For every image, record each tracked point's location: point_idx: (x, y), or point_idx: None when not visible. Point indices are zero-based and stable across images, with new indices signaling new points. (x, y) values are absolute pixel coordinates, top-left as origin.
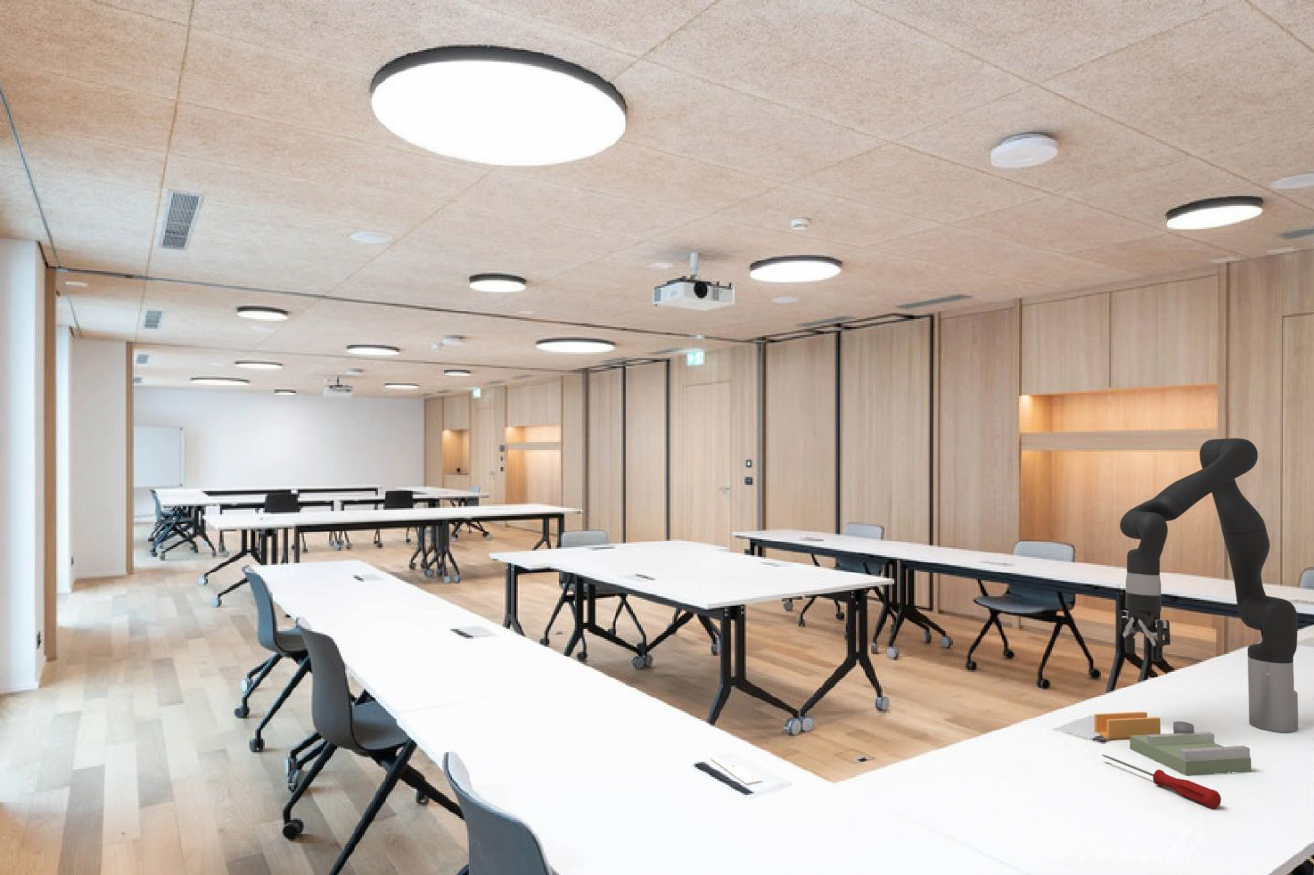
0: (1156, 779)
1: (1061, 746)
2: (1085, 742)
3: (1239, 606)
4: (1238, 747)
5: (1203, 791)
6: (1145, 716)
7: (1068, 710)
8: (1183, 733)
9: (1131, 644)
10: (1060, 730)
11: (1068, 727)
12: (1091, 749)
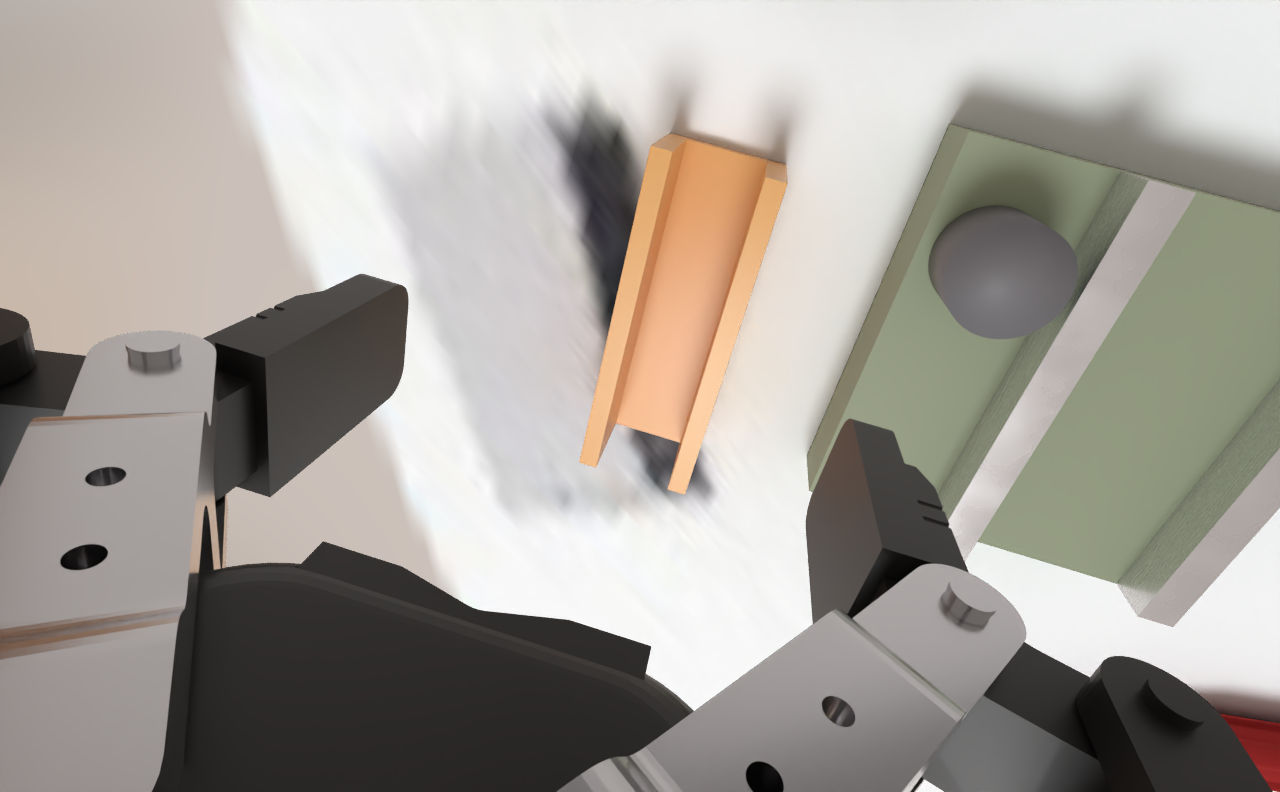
0: None
1: (668, 640)
2: (672, 540)
3: None
4: None
5: None
6: (672, 161)
7: (291, 214)
8: (1045, 370)
9: (334, 379)
10: (528, 501)
11: (507, 442)
12: (738, 586)
